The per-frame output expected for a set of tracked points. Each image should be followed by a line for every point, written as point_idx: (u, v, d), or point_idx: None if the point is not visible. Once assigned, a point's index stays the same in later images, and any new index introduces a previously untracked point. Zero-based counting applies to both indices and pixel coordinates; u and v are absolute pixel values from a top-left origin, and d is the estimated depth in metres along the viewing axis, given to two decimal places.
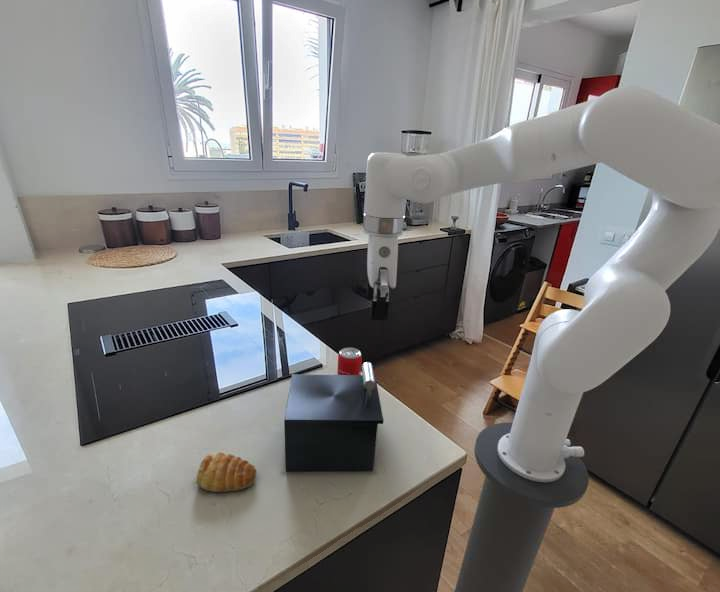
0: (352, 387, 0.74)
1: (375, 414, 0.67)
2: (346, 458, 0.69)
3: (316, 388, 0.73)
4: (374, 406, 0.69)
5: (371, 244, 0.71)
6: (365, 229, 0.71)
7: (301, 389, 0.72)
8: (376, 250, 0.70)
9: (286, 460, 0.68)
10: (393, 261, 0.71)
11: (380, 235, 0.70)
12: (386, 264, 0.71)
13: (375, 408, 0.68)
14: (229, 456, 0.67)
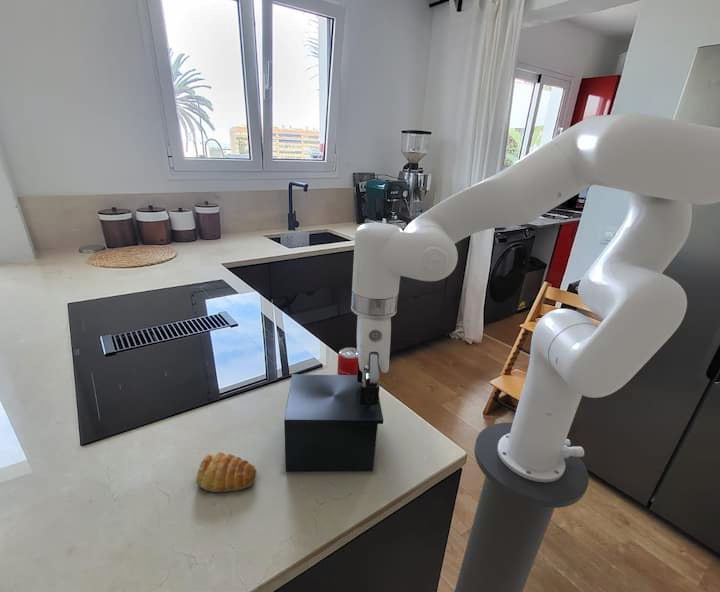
0: (352, 387, 0.74)
1: (375, 414, 0.67)
2: (346, 458, 0.69)
3: (316, 388, 0.73)
4: (374, 406, 0.69)
5: (360, 325, 0.62)
6: (353, 308, 0.62)
7: (301, 389, 0.72)
8: (366, 334, 0.61)
9: (286, 460, 0.68)
10: (385, 345, 0.62)
11: (370, 317, 0.61)
12: (377, 349, 0.62)
13: (375, 408, 0.68)
14: (229, 456, 0.67)
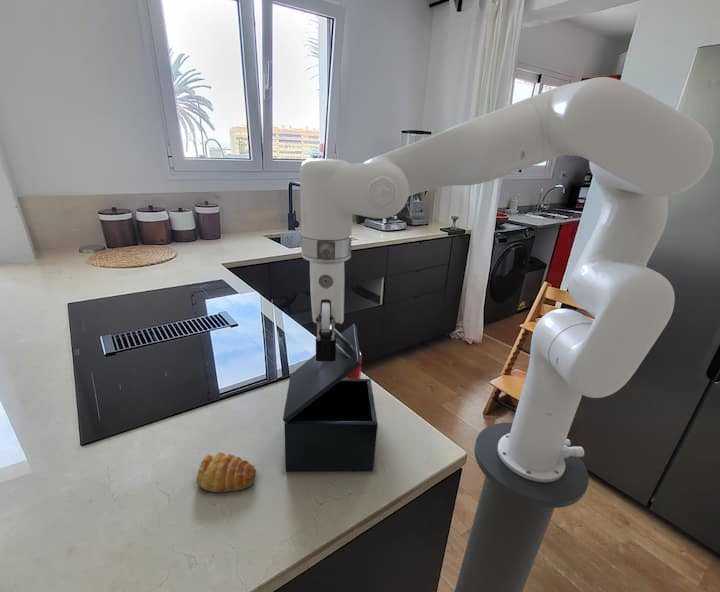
0: None
1: (351, 361, 0.62)
2: (346, 458, 0.69)
3: (307, 373, 0.71)
4: (351, 354, 0.64)
5: (310, 271, 0.58)
6: (303, 253, 0.58)
7: (296, 382, 0.72)
8: (315, 279, 0.57)
9: (286, 460, 0.68)
10: (337, 292, 0.57)
11: (320, 261, 0.57)
12: (329, 296, 0.57)
13: (352, 355, 0.64)
14: (229, 456, 0.67)
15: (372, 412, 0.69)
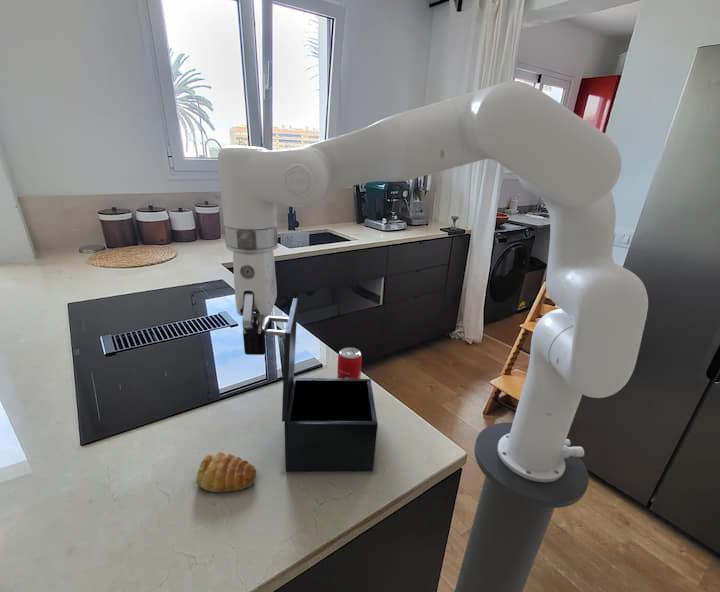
0: None
1: None
2: (346, 458, 0.69)
3: None
4: None
5: None
6: (226, 243, 0.57)
7: None
8: (237, 270, 0.55)
9: (286, 460, 0.68)
10: (260, 283, 0.56)
11: (241, 251, 0.55)
12: (251, 287, 0.56)
13: None
14: (229, 456, 0.67)
15: (372, 412, 0.69)
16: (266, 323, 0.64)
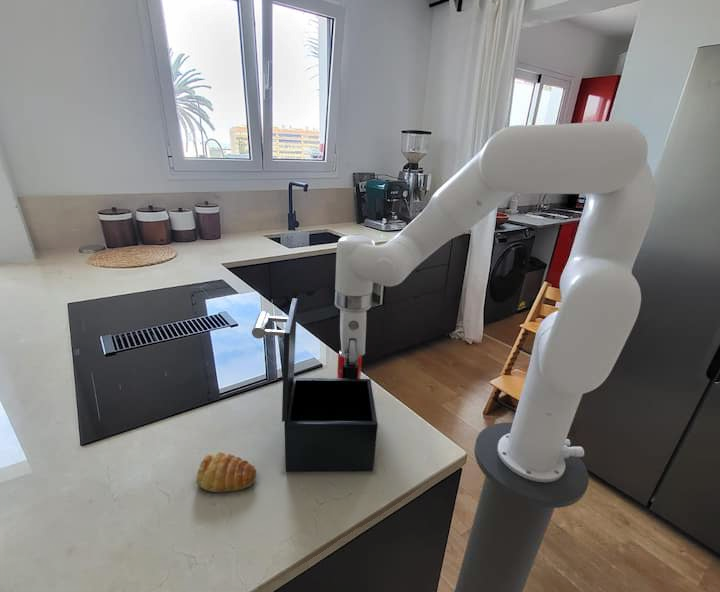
0: None
1: None
2: (346, 458, 0.69)
3: None
4: None
5: (342, 317, 0.78)
6: (336, 303, 0.78)
7: None
8: (346, 324, 0.77)
9: (286, 460, 0.68)
10: (361, 333, 0.78)
11: (349, 310, 0.77)
12: (355, 336, 0.78)
13: None
14: (229, 456, 0.67)
15: (372, 412, 0.69)
16: (265, 323, 0.64)
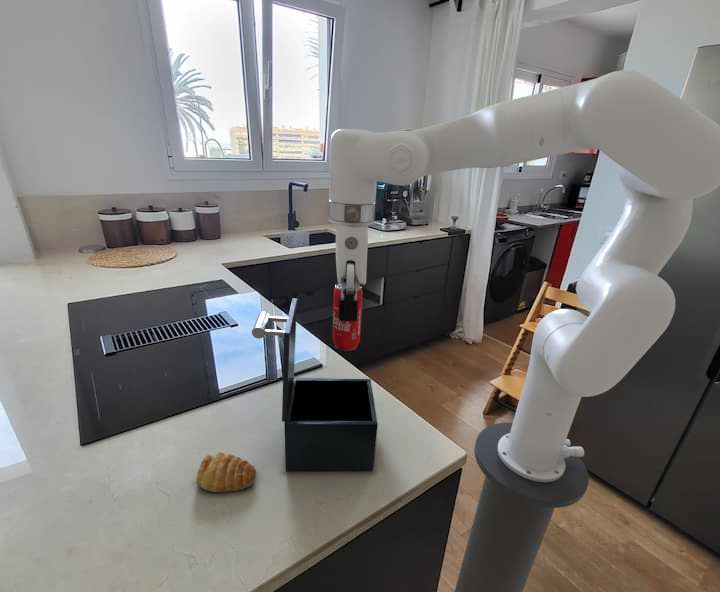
0: None
1: None
2: (346, 458, 0.69)
3: None
4: None
5: (337, 234, 0.63)
6: (330, 218, 0.63)
7: None
8: (342, 241, 0.62)
9: (286, 460, 0.68)
10: (362, 254, 0.62)
11: (346, 224, 0.61)
12: (354, 257, 0.62)
13: None
14: (229, 456, 0.67)
15: (372, 412, 0.69)
16: (265, 323, 0.64)
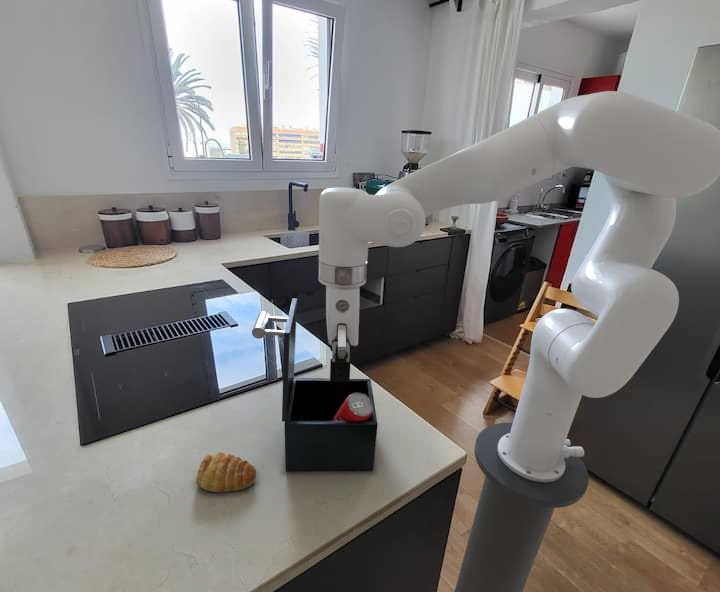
0: None
1: None
2: (346, 458, 0.69)
3: None
4: None
5: (327, 296, 0.60)
6: (320, 278, 0.60)
7: None
8: (332, 304, 0.59)
9: (286, 460, 0.68)
10: (353, 316, 0.59)
11: (337, 286, 0.58)
12: (345, 320, 0.59)
13: None
14: (229, 456, 0.67)
15: (372, 412, 0.69)
16: (265, 323, 0.64)
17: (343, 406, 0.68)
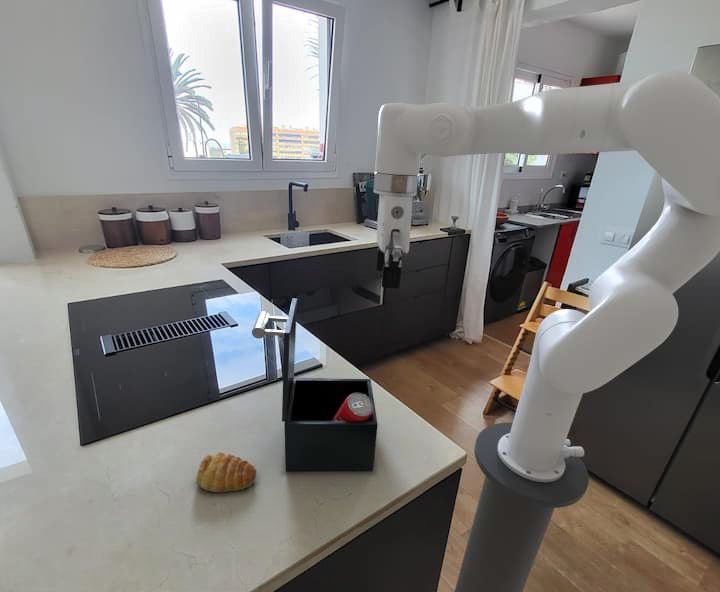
0: None
1: None
2: (346, 458, 0.69)
3: None
4: None
5: (383, 205, 0.66)
6: (376, 189, 0.66)
7: None
8: (388, 210, 0.65)
9: (286, 460, 0.68)
10: (407, 223, 0.66)
11: (393, 194, 0.65)
12: (399, 226, 0.66)
13: None
14: (229, 456, 0.67)
15: (372, 412, 0.69)
16: (265, 323, 0.64)
17: (343, 406, 0.68)
